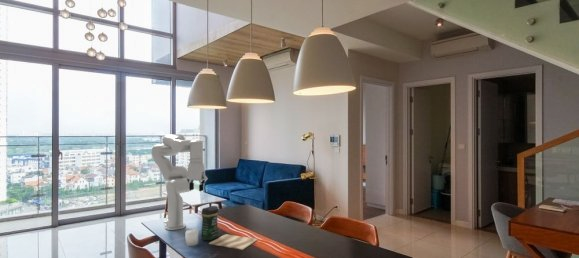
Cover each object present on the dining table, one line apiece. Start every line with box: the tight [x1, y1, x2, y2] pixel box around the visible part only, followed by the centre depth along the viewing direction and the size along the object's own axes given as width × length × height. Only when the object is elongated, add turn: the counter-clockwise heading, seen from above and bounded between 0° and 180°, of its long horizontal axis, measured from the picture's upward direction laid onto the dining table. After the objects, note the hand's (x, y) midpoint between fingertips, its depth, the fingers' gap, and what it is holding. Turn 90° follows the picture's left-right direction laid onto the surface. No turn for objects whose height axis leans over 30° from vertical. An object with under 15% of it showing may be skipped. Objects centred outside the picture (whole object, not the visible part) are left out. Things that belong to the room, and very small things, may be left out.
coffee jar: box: [200, 205, 219, 241], centre depth 182 cm, size 10×8×19 cm
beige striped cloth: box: [208, 233, 258, 251], centre depth 175 cm, size 22×16×1 cm
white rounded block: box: [184, 228, 199, 247], centre depth 173 cm, size 7×7×7 cm
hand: (196, 190), depth 186 cm, fingers open, 6 cm apart
